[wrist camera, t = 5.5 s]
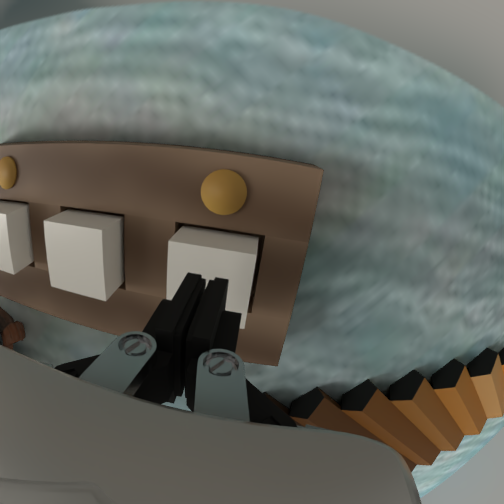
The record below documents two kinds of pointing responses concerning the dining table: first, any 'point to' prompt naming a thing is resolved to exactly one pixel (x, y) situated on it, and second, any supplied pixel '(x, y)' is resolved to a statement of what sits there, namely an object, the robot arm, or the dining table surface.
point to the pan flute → (413, 408)
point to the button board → (164, 225)
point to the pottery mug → (10, 329)
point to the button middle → (85, 252)
